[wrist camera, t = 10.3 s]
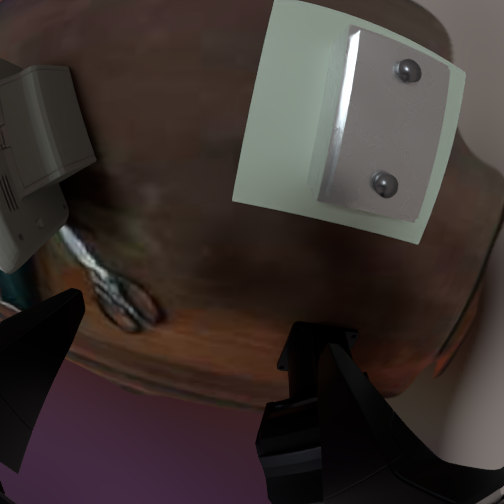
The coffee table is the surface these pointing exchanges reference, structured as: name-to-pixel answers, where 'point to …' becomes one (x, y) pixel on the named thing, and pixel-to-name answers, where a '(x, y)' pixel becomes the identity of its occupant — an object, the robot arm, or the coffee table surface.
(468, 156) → the coffee table surface
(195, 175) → the coffee table surface
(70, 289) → the robot arm
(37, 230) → the digital clock
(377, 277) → the coffee table surface
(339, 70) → the block
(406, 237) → the stand
